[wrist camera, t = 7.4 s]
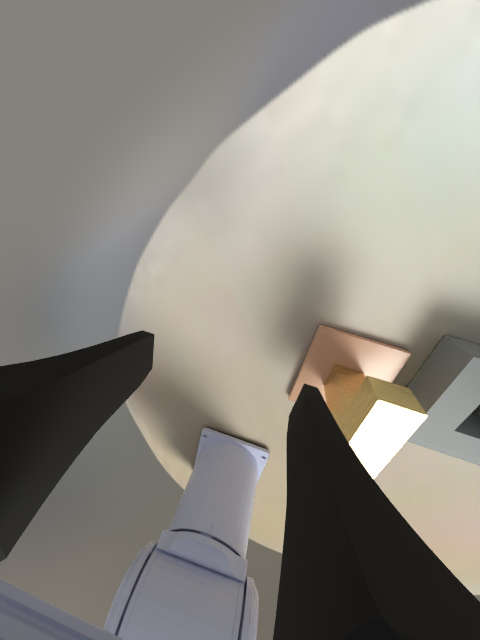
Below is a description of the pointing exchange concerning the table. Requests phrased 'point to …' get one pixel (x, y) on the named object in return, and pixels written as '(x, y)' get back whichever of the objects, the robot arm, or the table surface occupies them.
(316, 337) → the terracotta pad
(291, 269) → the table surface
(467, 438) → the slate socket block
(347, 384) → the brass rectangular peg
